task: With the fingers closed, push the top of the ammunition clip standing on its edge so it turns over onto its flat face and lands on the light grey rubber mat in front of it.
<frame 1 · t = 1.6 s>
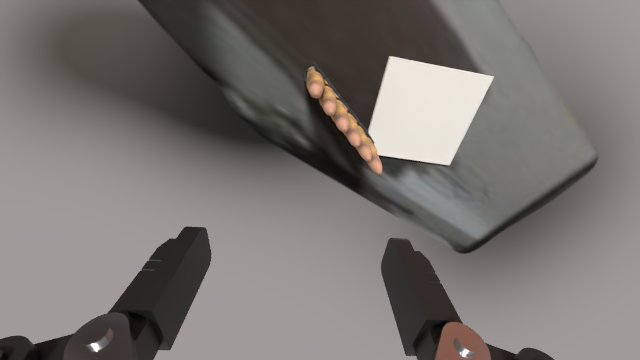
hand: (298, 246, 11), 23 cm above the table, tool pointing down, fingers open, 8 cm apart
mat: (422, 116, 31), on the table
ammunition clip: (337, 102, 30), on the table
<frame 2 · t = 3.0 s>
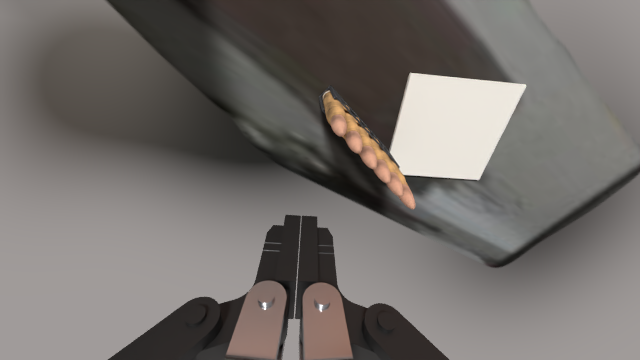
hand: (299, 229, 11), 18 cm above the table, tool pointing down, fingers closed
mat: (447, 132, 28), on the table
ammunition clip: (355, 124, 28), on the table
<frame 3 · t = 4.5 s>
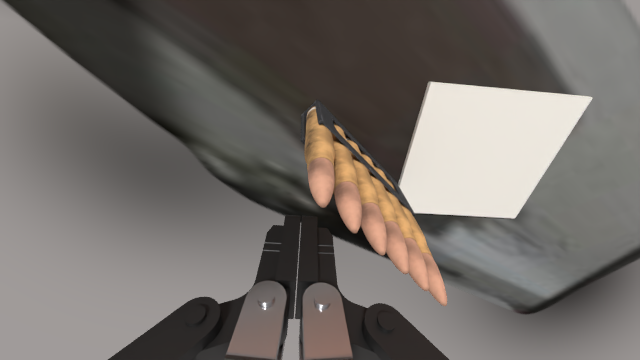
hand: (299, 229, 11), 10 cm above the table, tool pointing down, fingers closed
mat: (477, 159, 21), on the table
ammunition clip: (352, 150, 21), on the table
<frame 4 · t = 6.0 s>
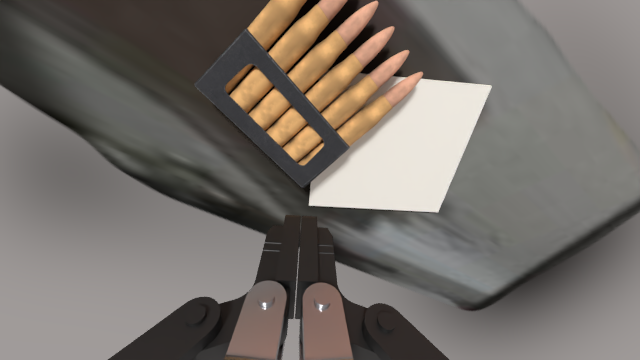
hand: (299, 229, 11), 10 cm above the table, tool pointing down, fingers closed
mat: (387, 151, 21), on the table
ammunition clip: (255, 139, 18), point 1 cm above the table, touching mat
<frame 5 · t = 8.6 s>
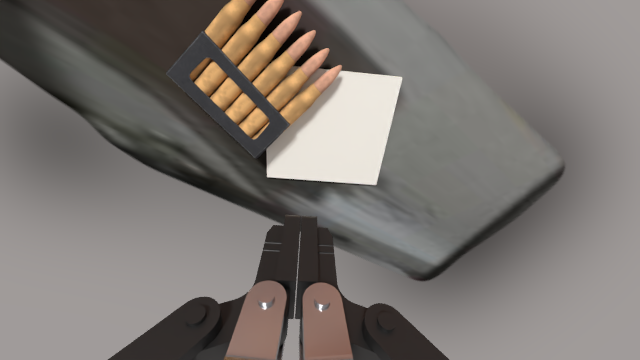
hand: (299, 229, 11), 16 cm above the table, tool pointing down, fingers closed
mat: (327, 131, 25), on the table
ammunition clip: (217, 118, 23), point 1 cm above the table, touching mat
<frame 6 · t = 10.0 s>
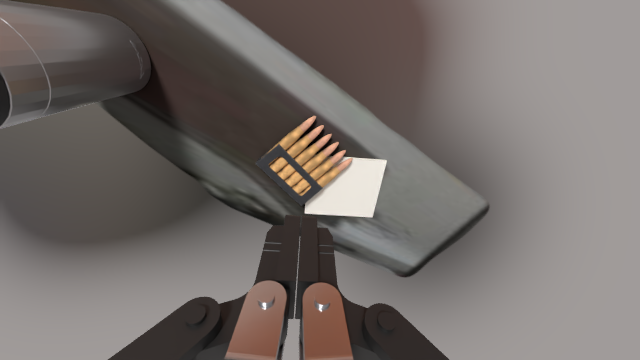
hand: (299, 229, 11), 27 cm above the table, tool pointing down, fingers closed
mat: (342, 187, 42), on the table
ammunition clip: (279, 183, 40), point 1 cm above the table, touching mat
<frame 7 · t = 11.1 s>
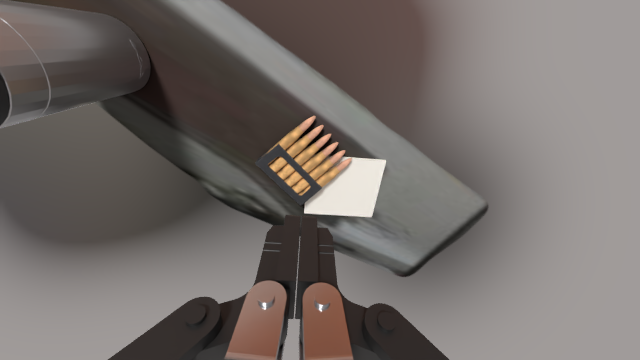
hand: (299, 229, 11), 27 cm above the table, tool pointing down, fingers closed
mat: (342, 187, 42), on the table
ammunition clip: (279, 183, 40), point 1 cm above the table, touching mat
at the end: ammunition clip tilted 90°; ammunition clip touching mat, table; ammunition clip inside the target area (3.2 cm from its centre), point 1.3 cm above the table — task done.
